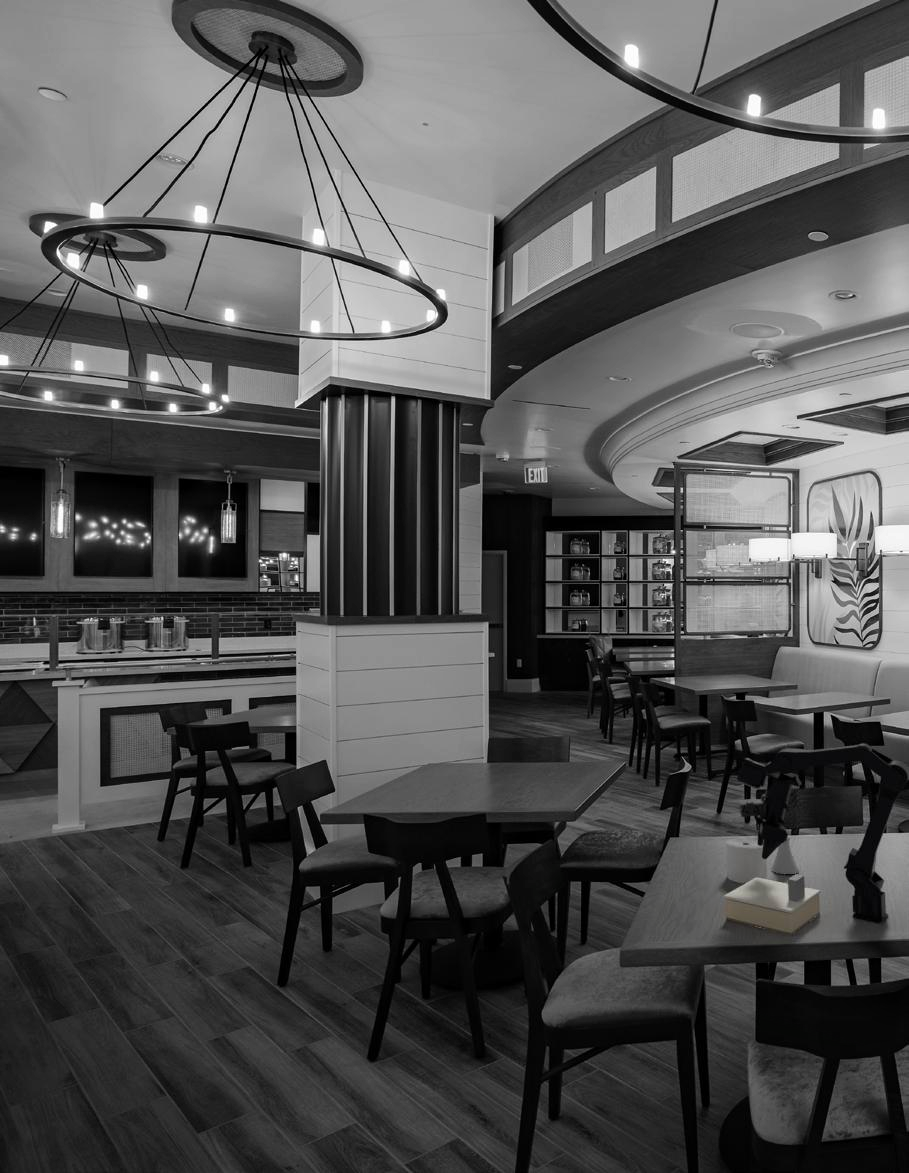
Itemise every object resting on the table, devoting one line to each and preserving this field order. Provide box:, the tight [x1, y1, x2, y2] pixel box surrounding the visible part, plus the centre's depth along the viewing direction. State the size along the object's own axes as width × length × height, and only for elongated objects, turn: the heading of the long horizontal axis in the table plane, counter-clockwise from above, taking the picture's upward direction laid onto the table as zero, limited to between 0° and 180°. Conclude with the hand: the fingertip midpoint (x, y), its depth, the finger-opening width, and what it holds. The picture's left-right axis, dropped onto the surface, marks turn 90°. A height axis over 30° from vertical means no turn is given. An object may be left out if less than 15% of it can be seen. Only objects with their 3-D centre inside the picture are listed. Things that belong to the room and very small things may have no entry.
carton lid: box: [724, 873, 821, 913], centre depth 209 cm, size 16×18×6 cm
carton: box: [725, 893, 821, 936], centre depth 209 cm, size 16×18×5 cm
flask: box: [770, 836, 800, 876], centre depth 244 cm, size 7×7×10 cm
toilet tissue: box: [725, 837, 768, 884], centre depth 239 cm, size 11×12×10 cm
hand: (761, 851), depth 221 cm, fingers open, 9 cm apart
